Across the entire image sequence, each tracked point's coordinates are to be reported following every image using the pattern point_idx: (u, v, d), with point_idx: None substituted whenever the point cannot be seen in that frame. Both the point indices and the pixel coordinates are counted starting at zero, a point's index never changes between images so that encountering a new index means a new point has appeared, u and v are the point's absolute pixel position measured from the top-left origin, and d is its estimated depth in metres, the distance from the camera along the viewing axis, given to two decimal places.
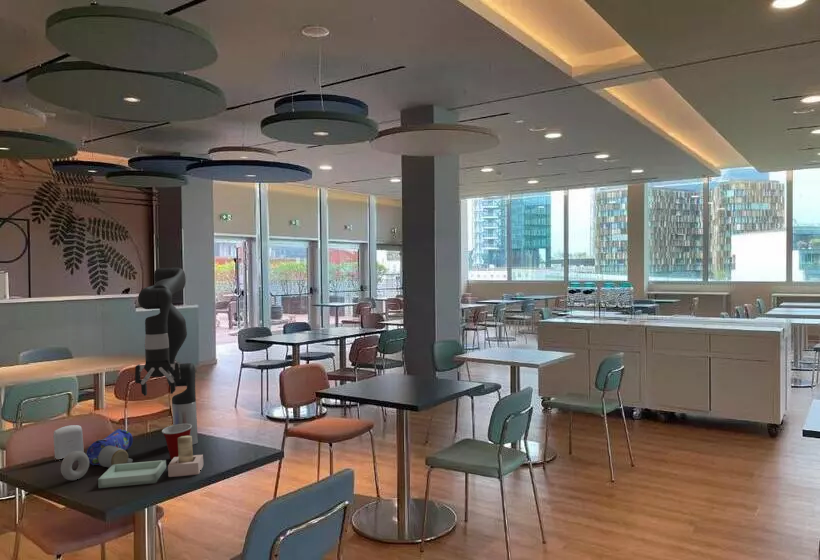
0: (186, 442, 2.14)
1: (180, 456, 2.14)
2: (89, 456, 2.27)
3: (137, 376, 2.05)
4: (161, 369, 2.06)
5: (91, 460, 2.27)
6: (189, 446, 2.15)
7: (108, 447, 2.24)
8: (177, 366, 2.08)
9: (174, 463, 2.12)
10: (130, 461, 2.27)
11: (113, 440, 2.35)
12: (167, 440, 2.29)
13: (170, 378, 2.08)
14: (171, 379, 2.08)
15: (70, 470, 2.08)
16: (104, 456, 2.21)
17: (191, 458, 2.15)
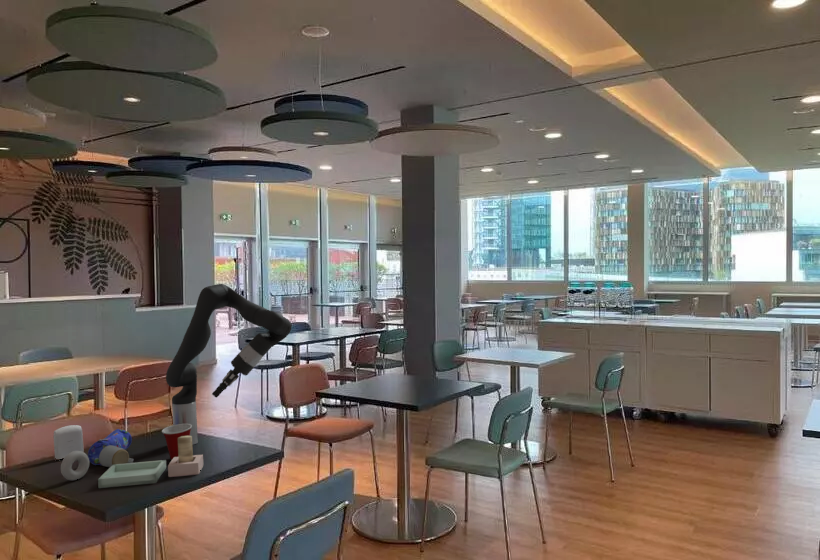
0: (186, 442, 2.14)
1: (180, 456, 2.14)
2: (91, 456, 2.27)
3: (229, 384, 2.12)
4: (237, 377, 2.20)
5: (93, 460, 2.27)
6: (189, 446, 2.15)
7: (109, 447, 2.25)
8: None
9: (174, 463, 2.12)
10: (131, 461, 2.27)
11: (114, 440, 2.35)
12: (167, 440, 2.29)
13: None
14: None
15: (70, 470, 2.08)
16: (105, 456, 2.22)
17: (191, 458, 2.15)
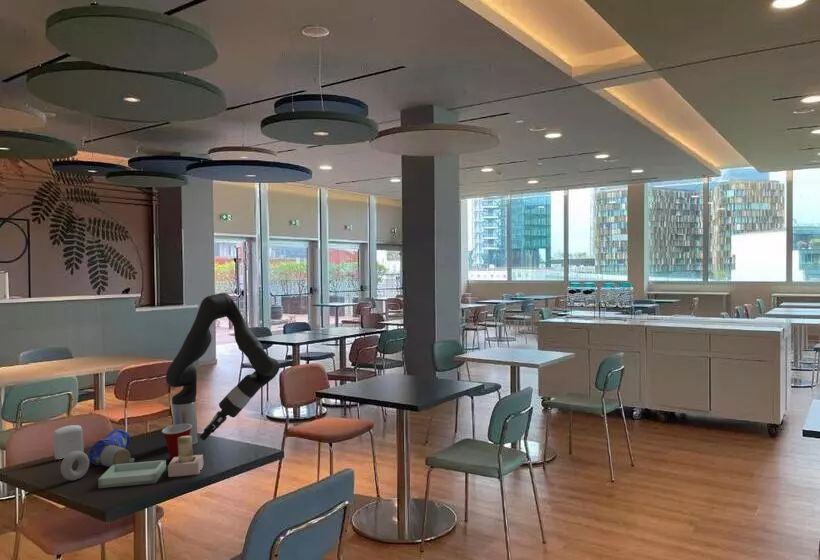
0: (186, 442, 2.14)
1: (180, 456, 2.14)
2: (92, 456, 2.27)
3: (217, 427, 2.12)
4: (225, 419, 2.20)
5: (94, 460, 2.27)
6: (189, 446, 2.15)
7: (110, 446, 2.25)
8: None
9: (174, 463, 2.12)
10: (132, 461, 2.27)
11: (114, 440, 2.35)
12: (167, 440, 2.29)
13: None
14: None
15: (70, 470, 2.08)
16: (106, 455, 2.22)
17: (191, 458, 2.15)
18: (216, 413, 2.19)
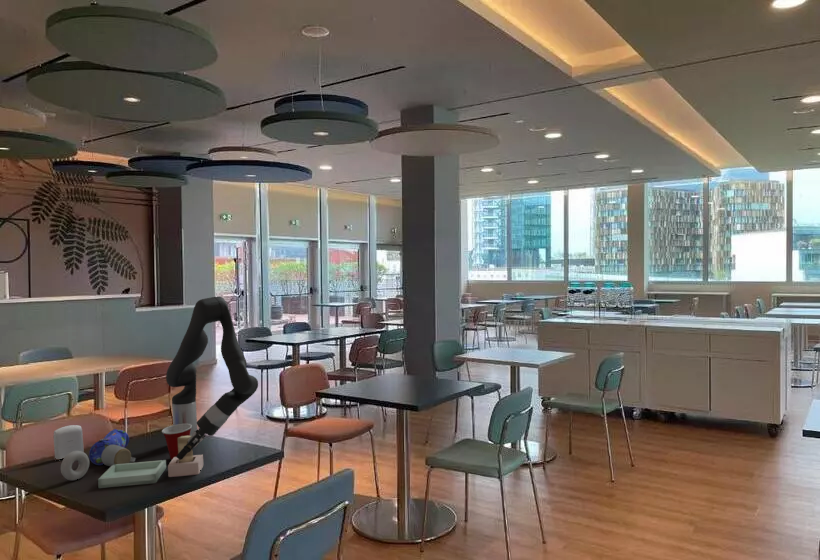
0: (186, 442, 2.14)
1: None
2: (92, 456, 2.27)
3: (193, 447, 2.11)
4: (203, 437, 2.18)
5: (95, 459, 2.27)
6: (189, 446, 2.15)
7: (111, 446, 2.25)
8: None
9: (174, 463, 2.12)
10: (133, 460, 2.28)
11: (114, 439, 2.35)
12: (167, 440, 2.29)
13: None
14: None
15: (70, 470, 2.08)
16: (107, 455, 2.23)
17: (191, 458, 2.15)
18: None
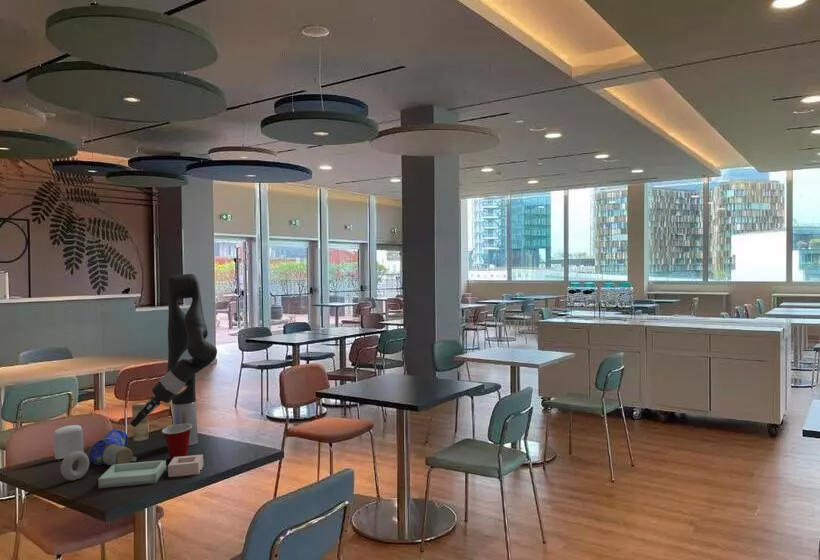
0: (141, 409, 2.10)
1: None
2: (92, 456, 2.28)
3: (147, 414, 2.07)
4: None
5: (95, 459, 2.27)
6: (144, 413, 2.11)
7: (112, 445, 2.26)
8: (159, 401, 2.19)
9: (174, 463, 2.12)
10: (134, 460, 2.29)
11: (114, 439, 2.36)
12: (167, 440, 2.29)
13: None
14: None
15: (70, 470, 2.08)
16: (109, 454, 2.23)
17: (146, 425, 2.11)
18: None
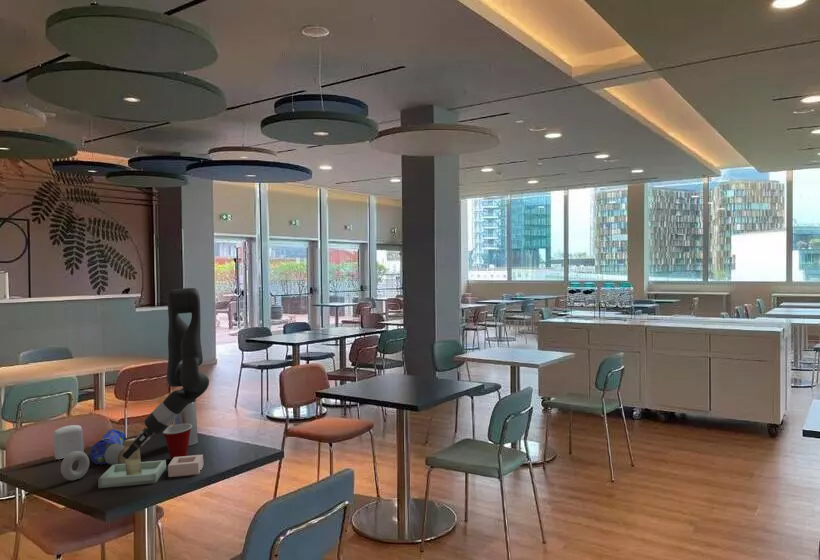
0: None
1: (126, 459, 2.09)
2: (93, 456, 2.28)
3: (139, 446, 2.06)
4: (151, 436, 2.14)
5: (96, 459, 2.27)
6: None
7: (114, 445, 2.27)
8: None
9: (174, 463, 2.12)
10: None
11: (114, 439, 2.36)
12: (167, 440, 2.29)
13: None
14: None
15: (70, 470, 2.08)
16: (110, 454, 2.24)
17: (138, 461, 2.11)
18: (142, 430, 2.12)
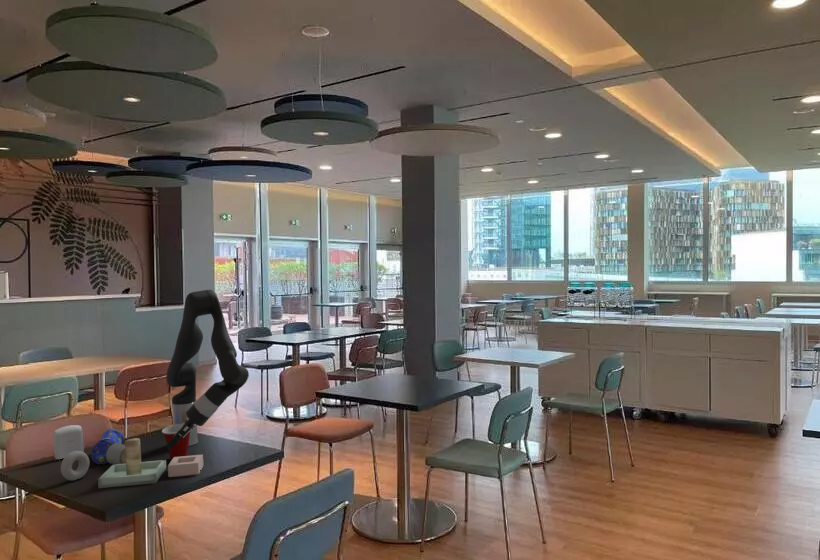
0: (133, 445, 2.09)
1: (127, 459, 2.09)
2: (94, 455, 2.28)
3: (183, 436, 2.08)
4: (193, 428, 2.16)
5: (97, 459, 2.28)
6: (137, 449, 2.10)
7: (116, 444, 2.27)
8: None
9: (174, 463, 2.12)
10: None
11: (113, 439, 2.36)
12: (167, 440, 2.29)
13: None
14: None
15: (70, 470, 2.08)
16: (112, 453, 2.24)
17: (139, 461, 2.11)
18: None
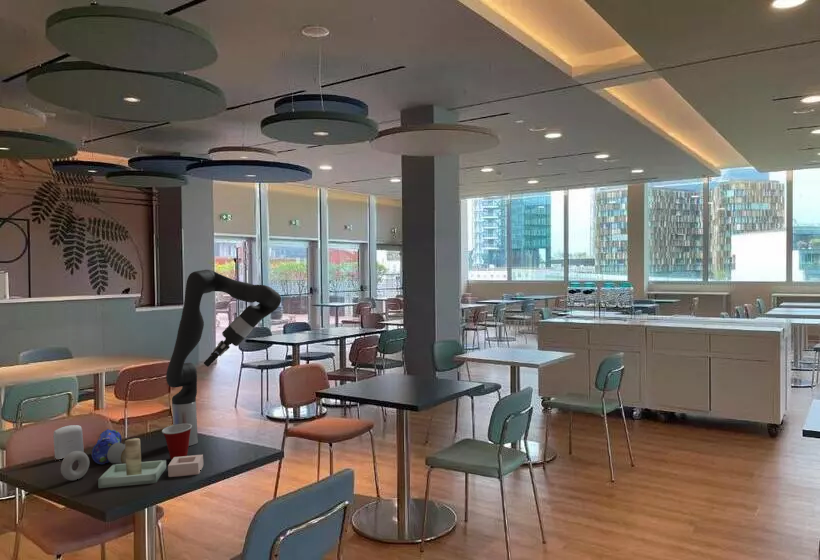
0: (134, 445, 2.09)
1: (127, 459, 2.09)
2: (95, 455, 2.28)
3: (220, 354, 2.20)
4: (228, 348, 2.28)
5: (98, 459, 2.28)
6: (137, 449, 2.10)
7: (117, 444, 2.28)
8: (229, 344, 2.32)
9: (174, 463, 2.12)
10: None
11: (113, 439, 2.37)
12: (167, 440, 2.29)
13: None
14: None
15: (70, 470, 2.08)
16: (113, 453, 2.25)
17: (139, 461, 2.11)
18: None
